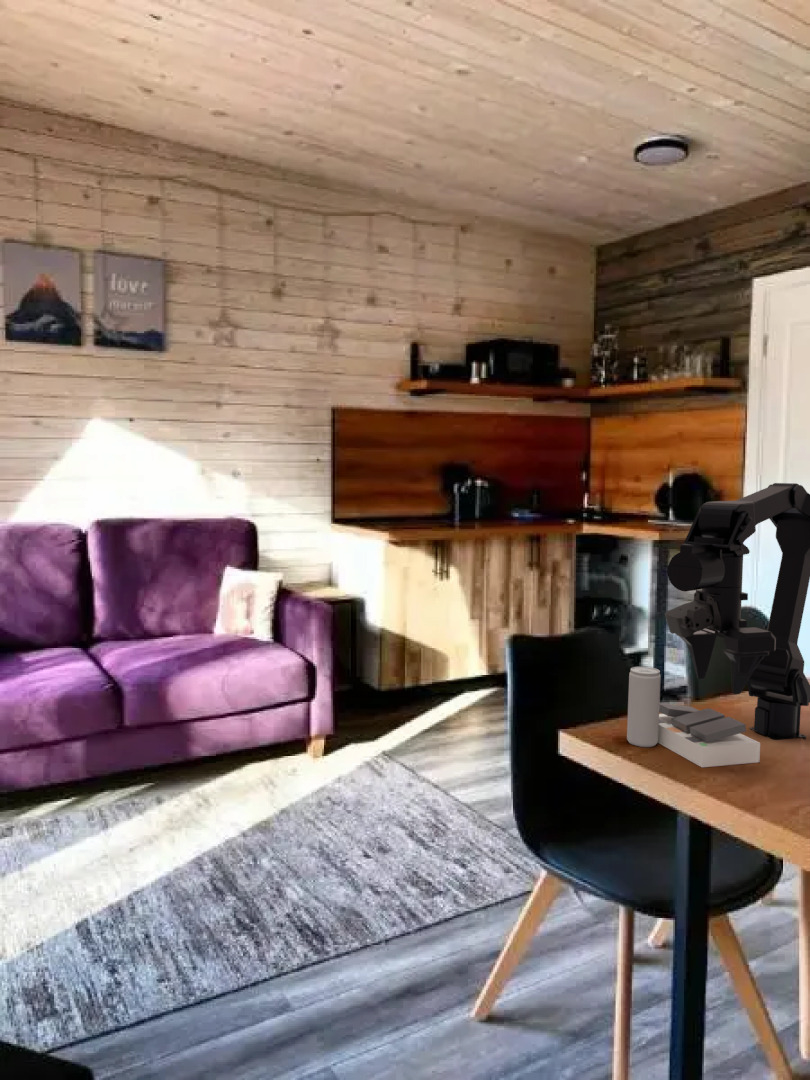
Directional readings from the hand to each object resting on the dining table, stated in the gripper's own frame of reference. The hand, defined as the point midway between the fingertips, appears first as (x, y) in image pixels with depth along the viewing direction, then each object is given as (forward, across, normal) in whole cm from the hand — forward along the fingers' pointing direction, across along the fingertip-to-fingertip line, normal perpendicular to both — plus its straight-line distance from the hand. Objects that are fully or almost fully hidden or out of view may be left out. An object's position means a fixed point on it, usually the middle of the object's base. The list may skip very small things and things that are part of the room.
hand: (718, 685), depth 131 cm
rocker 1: (+7, -9, -1) cm, 11 cm away
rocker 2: (+7, -4, 0) cm, 8 cm away
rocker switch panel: (+11, -4, -1) cm, 12 cm away
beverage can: (+11, -7, -8) cm, 16 cm away
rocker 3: (+6, +1, 0) cm, 7 cm away
